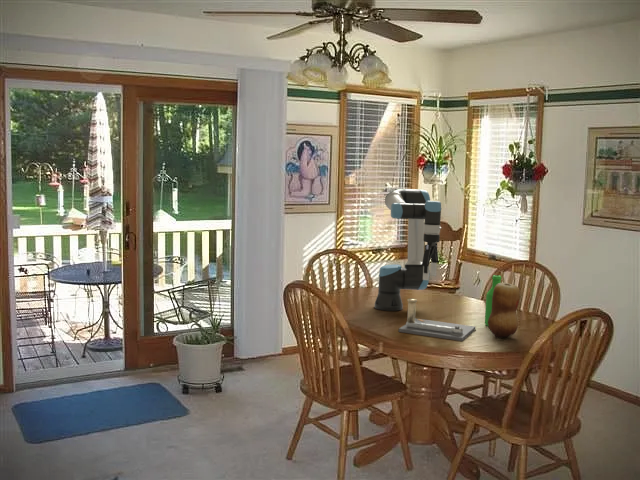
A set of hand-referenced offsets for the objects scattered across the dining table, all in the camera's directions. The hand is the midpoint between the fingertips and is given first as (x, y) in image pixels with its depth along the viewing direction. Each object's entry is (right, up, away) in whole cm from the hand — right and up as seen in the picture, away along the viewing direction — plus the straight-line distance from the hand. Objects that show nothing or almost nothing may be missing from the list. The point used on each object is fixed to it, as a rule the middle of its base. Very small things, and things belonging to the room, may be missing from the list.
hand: (429, 278), depth 325 cm
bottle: (+33, -24, +11) cm, 42 cm away
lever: (+1, -23, -9) cm, 25 cm away
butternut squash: (+32, -27, -11) cm, 43 cm away
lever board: (+3, -25, -3) cm, 25 cm away
